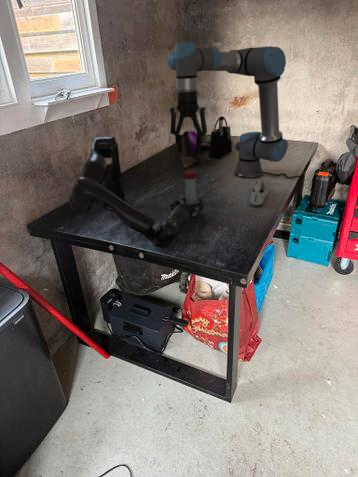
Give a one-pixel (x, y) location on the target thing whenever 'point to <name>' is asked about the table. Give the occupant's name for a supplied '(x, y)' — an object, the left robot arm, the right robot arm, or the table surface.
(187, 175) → the lid
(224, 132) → the handbag
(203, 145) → the pair of gloves
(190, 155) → the boot
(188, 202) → the bottle
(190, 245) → the table surface
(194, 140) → the decorative orb
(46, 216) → the table surface
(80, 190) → the left robot arm
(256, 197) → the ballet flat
